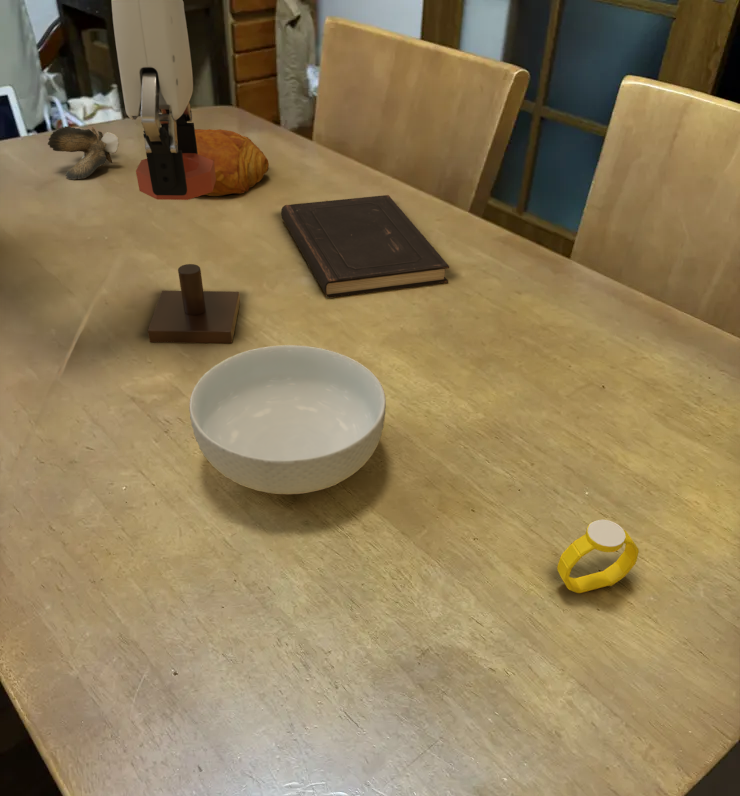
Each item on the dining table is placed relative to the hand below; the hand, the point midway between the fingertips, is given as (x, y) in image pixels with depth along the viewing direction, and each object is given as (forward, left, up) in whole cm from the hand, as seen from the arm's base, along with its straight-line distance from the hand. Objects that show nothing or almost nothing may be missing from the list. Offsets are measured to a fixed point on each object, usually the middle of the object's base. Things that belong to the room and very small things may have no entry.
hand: (177, 177), depth 75 cm
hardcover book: (+19, +19, -16) cm, 31 cm away
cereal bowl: (+12, -24, -16) cm, 32 cm away
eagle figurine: (-23, +46, -16) cm, 54 cm away
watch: (+36, -39, -16) cm, 56 cm away
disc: (0, 0, -1) cm, 1 cm away
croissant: (-3, +42, -16) cm, 45 cm away
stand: (0, 0, -16) cm, 16 cm away
